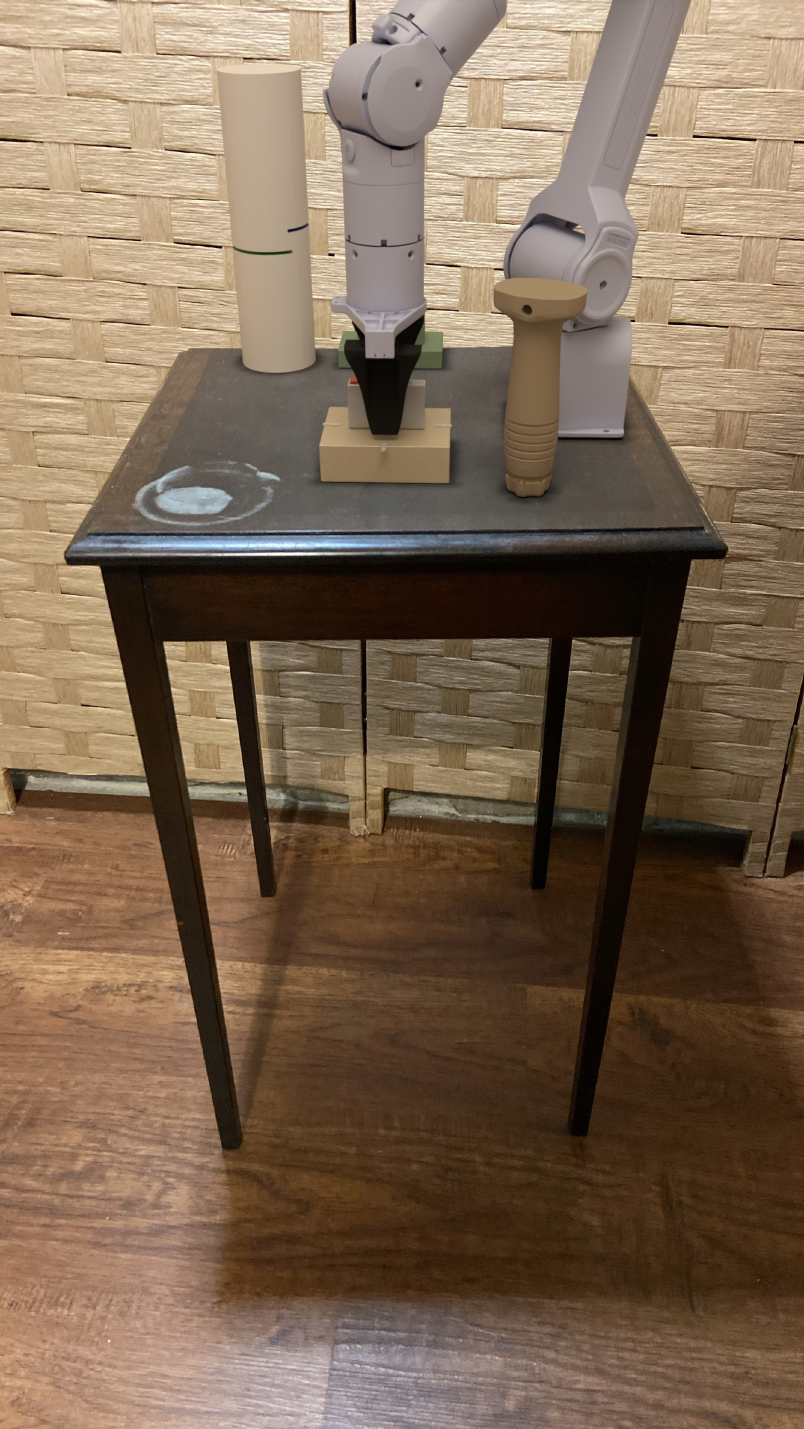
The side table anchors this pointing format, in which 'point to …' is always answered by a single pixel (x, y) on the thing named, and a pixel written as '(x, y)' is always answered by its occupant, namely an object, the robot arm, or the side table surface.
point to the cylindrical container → (268, 213)
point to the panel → (386, 451)
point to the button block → (428, 340)
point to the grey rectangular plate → (411, 412)
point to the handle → (534, 375)
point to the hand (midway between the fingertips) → (387, 419)
